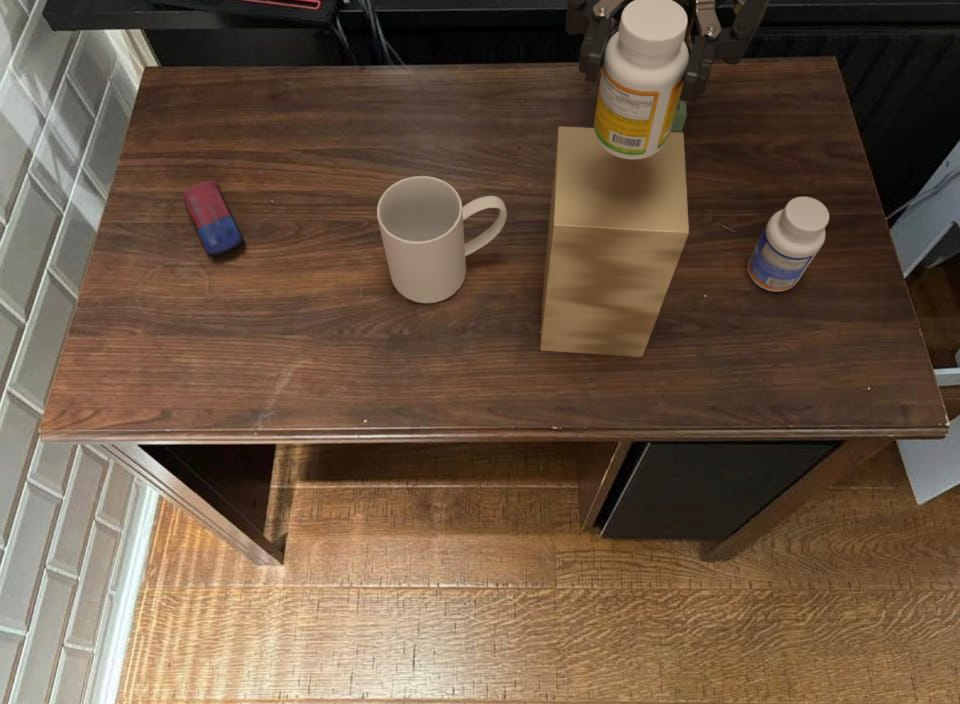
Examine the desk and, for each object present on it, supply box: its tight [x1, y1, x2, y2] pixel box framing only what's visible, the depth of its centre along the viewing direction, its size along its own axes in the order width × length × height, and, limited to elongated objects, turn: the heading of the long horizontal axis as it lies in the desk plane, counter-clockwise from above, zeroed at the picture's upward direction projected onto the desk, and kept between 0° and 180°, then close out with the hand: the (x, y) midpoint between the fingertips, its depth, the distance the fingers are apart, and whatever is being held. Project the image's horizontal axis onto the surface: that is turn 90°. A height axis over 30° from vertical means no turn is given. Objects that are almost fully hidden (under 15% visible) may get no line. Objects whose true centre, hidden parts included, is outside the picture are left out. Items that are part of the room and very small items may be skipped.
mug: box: [376, 175, 508, 304], centre depth 73 cm, size 12×8×10 cm, turn 102°
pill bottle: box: [746, 196, 830, 293], centre depth 72 cm, size 5×5×10 cm
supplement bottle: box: [593, 0, 690, 159], centre depth 49 cm, size 5×5×10 cm
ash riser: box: [539, 126, 690, 358], centre depth 66 cm, size 10×10×20 cm
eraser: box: [182, 180, 246, 260], centre depth 80 cm, size 11×4×2 cm, turn 28°
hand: (639, 81), depth 46 cm, fingers closed on supplement bottle, 5 cm apart
